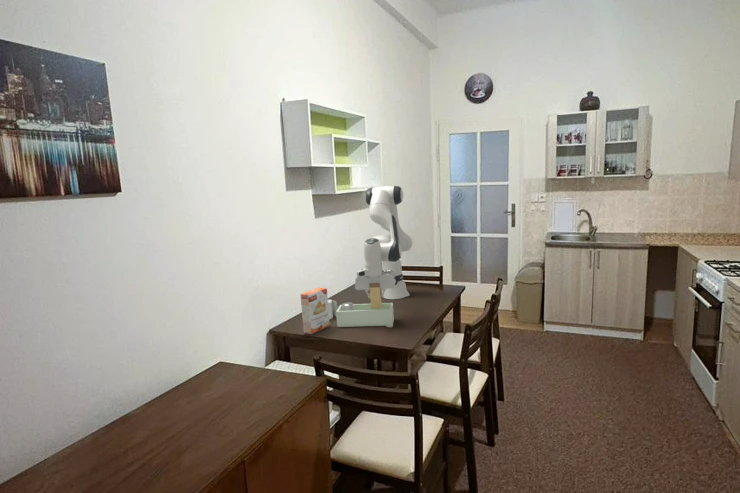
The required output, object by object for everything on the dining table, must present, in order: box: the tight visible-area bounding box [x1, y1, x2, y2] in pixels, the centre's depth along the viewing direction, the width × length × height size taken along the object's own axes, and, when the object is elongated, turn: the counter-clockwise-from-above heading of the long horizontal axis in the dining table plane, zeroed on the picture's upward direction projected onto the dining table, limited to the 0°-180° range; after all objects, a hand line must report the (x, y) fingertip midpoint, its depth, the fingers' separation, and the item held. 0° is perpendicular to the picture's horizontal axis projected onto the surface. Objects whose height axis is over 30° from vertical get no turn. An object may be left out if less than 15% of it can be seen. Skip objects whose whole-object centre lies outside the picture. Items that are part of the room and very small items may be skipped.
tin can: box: [341, 302, 354, 311], centre depth 228 cm, size 6×6×10 cm
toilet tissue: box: [328, 299, 338, 321], centre depth 240 cm, size 11×12×10 cm
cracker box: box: [300, 287, 330, 335], centre depth 221 cm, size 14×6×21 cm, turn 145°
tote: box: [335, 302, 395, 328], centre depth 227 cm, size 12×28×9 cm, turn 84°
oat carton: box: [369, 283, 383, 309], centre depth 225 cm, size 5×5×13 cm
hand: (375, 297), depth 225 cm, fingers closed on oat carton, 5 cm apart
